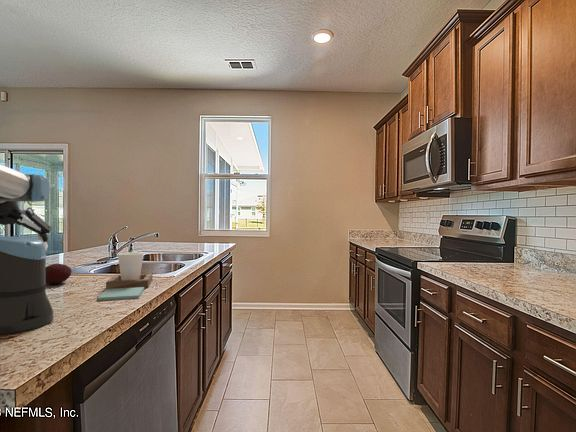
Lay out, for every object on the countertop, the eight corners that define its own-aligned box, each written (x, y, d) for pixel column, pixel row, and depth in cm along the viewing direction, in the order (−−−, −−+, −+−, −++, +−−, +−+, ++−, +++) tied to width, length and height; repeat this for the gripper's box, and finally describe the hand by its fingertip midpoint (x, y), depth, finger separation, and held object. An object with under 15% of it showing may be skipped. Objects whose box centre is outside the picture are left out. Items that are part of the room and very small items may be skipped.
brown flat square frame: (148, 287, 129) (148, 280, 129) (105, 289, 125) (105, 282, 125) (152, 280, 144) (152, 273, 144) (114, 281, 139) (114, 274, 139)
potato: (48, 281, 140) (48, 261, 140) (77, 280, 142) (77, 261, 142) (33, 287, 129) (33, 266, 129) (65, 286, 131) (65, 265, 131)
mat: (138, 298, 114) (138, 295, 114) (97, 300, 110) (97, 297, 110) (144, 289, 126) (144, 286, 126) (106, 291, 122) (106, 289, 122)
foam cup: (142, 286, 132) (142, 254, 132) (116, 288, 128) (116, 255, 128) (143, 281, 141) (143, 251, 140) (119, 283, 137) (119, 252, 137)
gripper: (49, 189, 106) (66, 239, 118) (-49, 195, 98) (-19, 249, 110) (43, 201, 101) (62, 253, 112) (-61, 208, 92) (-28, 264, 104)
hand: (22, 251), depth 111 cm, fingers open, 13 cm apart
